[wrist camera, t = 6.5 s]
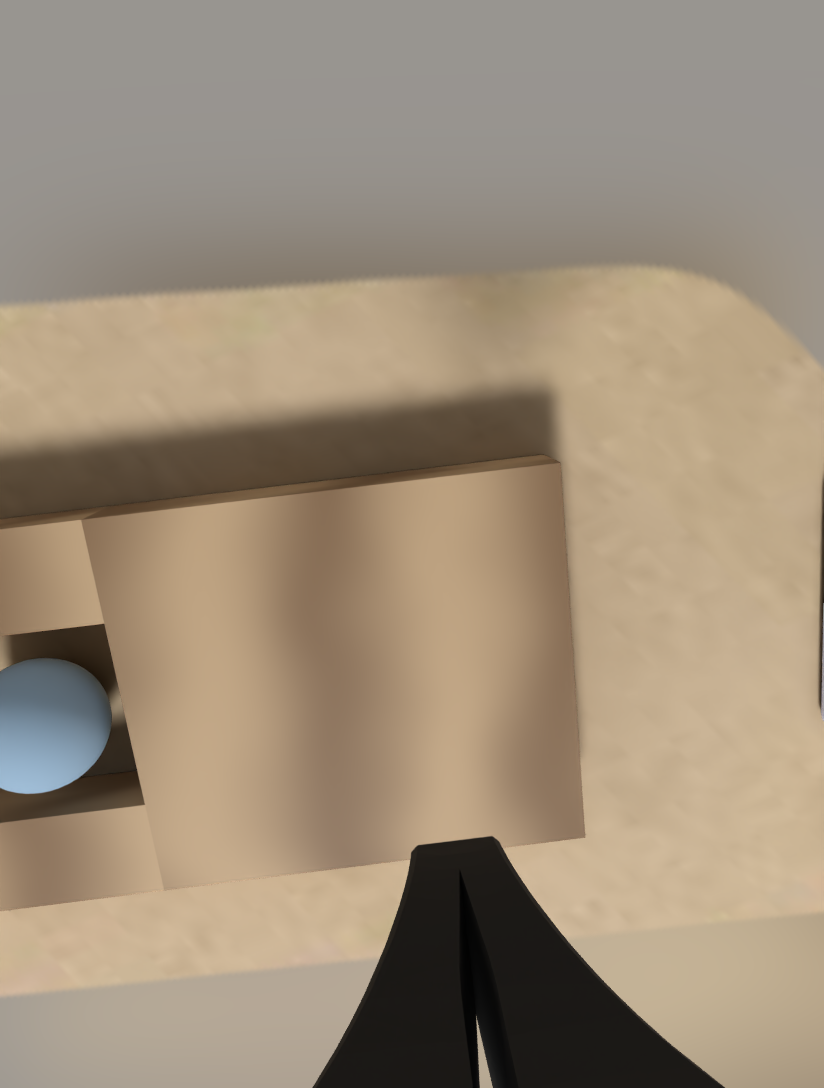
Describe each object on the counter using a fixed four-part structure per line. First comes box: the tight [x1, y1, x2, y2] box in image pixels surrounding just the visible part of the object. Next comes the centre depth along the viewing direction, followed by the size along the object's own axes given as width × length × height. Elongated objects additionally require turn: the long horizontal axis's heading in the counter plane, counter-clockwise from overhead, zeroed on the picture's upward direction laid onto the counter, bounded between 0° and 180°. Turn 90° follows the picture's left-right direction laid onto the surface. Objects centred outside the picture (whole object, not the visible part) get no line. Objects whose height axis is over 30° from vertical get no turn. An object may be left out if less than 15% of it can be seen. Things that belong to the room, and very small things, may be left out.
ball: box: [0, 658, 112, 794], centre depth 20 cm, size 4×4×4 cm
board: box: [0, 455, 585, 911], centre depth 20 cm, size 22×11×4 cm, turn 97°
